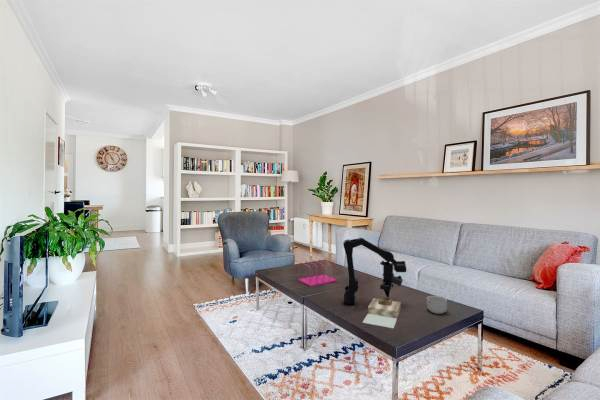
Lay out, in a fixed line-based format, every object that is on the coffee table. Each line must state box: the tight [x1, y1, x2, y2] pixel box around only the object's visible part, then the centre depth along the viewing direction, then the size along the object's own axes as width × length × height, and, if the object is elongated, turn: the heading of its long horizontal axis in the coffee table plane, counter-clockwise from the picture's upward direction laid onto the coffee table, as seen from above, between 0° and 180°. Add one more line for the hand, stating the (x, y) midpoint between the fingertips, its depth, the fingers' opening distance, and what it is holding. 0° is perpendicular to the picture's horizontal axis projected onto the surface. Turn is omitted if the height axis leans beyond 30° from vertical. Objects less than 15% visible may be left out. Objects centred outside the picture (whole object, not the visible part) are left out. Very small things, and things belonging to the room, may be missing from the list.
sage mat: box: [362, 313, 398, 329], centre depth 166 cm, size 16×13×1 cm
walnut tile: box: [378, 297, 393, 306], centre depth 180 cm, size 7×6×2 cm
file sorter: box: [297, 258, 338, 288], centre depth 237 cm, size 17×25×16 cm
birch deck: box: [367, 297, 402, 319], centre depth 179 cm, size 16×16×4 cm
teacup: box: [426, 295, 448, 315], centre depth 178 cm, size 14×11×8 cm
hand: (387, 297), depth 188 cm, fingers closed
